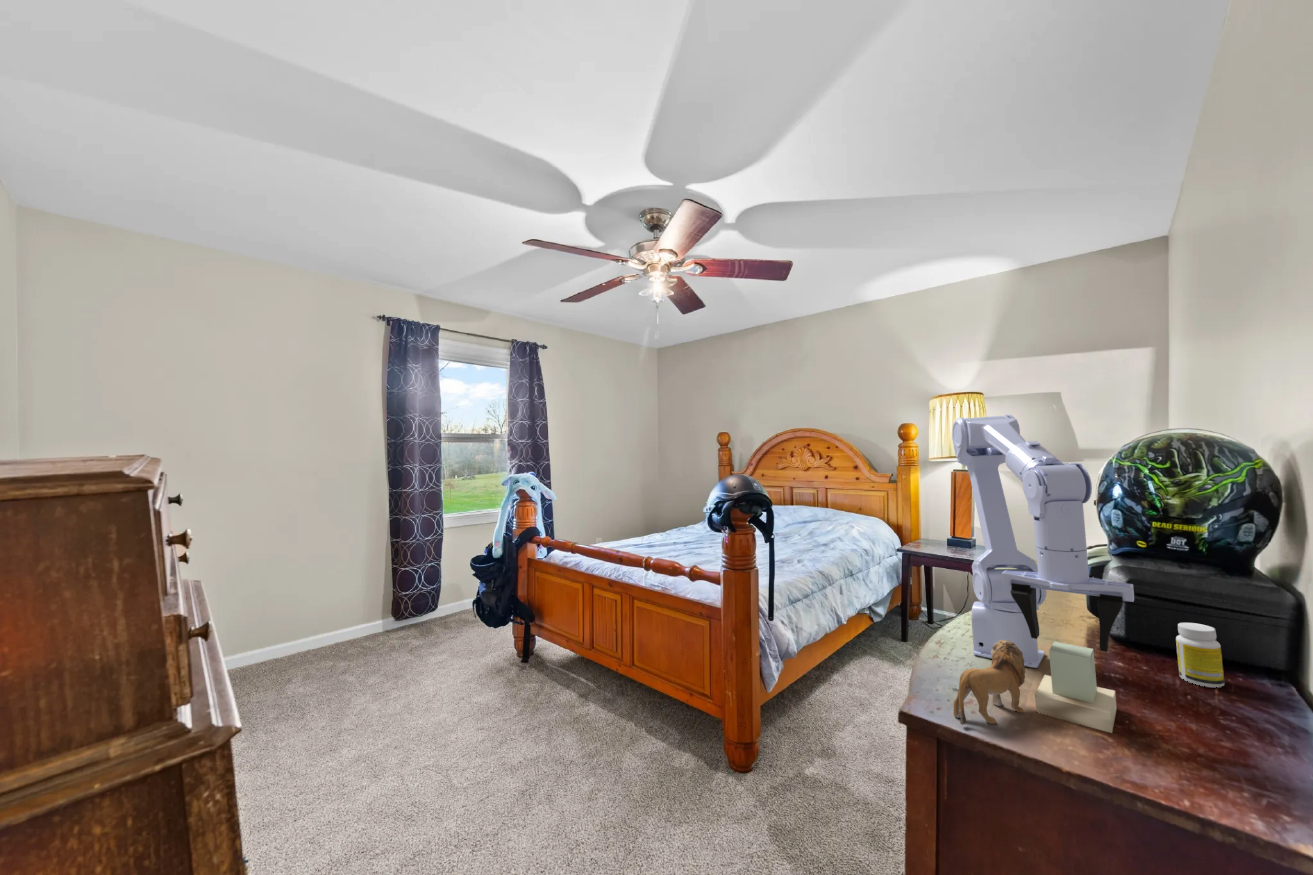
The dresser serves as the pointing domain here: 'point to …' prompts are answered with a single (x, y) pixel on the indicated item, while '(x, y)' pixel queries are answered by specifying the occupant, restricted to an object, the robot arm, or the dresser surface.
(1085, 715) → the pale maple block
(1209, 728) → the dresser surface
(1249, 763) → the dresser surface
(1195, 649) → the supplement bottle
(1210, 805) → the dresser surface
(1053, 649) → the sage green block
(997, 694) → the lion figurine
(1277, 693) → the dresser surface
